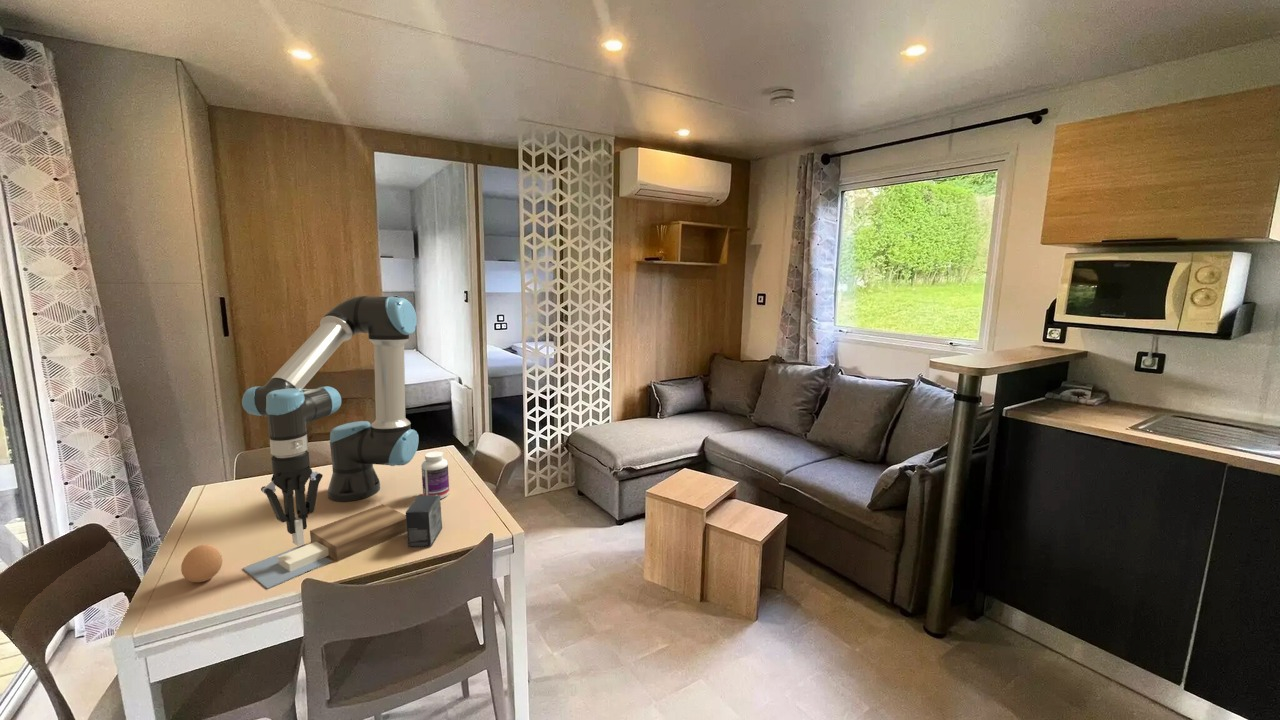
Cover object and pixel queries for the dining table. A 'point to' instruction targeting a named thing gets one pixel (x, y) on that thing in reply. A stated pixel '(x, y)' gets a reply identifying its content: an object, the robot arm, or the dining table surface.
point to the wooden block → (360, 531)
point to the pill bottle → (435, 475)
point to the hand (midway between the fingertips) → (298, 543)
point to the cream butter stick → (303, 556)
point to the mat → (279, 570)
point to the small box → (423, 521)
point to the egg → (201, 563)
